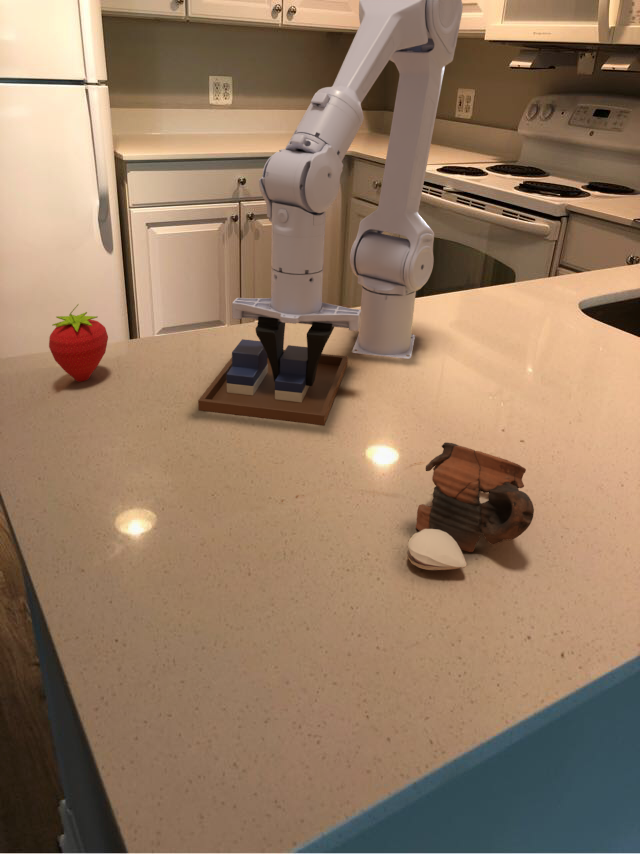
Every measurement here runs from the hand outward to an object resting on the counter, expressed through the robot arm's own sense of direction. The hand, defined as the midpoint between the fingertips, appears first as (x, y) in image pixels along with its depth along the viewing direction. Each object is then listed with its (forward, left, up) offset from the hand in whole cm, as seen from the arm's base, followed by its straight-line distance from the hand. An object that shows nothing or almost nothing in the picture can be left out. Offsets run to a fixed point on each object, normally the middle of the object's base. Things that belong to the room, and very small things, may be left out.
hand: (294, 380), depth 84 cm
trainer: (0, 0, -1) cm, 1 cm away
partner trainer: (0, -6, -1) cm, 6 cm away
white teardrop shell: (+29, +18, -2) cm, 34 cm away
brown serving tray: (0, -2, -2) cm, 3 cm away
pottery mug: (+23, +21, -2) cm, 31 cm away
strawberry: (+4, -25, -2) cm, 25 cm away
